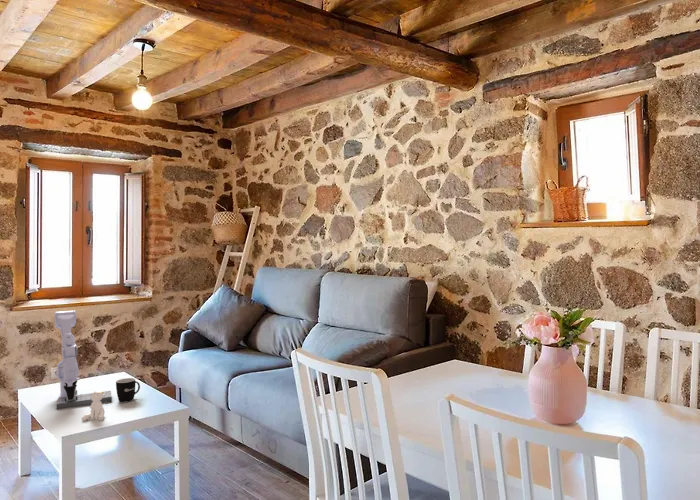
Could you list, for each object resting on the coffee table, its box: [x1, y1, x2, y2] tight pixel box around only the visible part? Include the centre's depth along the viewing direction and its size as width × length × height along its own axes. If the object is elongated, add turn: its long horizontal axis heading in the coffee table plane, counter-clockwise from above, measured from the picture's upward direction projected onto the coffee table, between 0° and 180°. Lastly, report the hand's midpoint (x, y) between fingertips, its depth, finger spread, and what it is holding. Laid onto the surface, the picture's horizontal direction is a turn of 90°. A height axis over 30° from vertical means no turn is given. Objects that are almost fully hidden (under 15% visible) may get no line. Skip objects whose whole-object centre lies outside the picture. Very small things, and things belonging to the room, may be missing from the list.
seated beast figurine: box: [81, 390, 105, 422], centre depth 238 cm, size 10×9×12 cm
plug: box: [66, 387, 78, 401], centre depth 260 cm, size 4×5×7 cm
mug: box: [115, 377, 141, 403], centre depth 265 cm, size 12×9×10 cm
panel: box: [56, 390, 113, 410], centre depth 262 cm, size 12×24×3 cm, turn 116°
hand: (71, 397), depth 260 cm, fingers open, 7 cm apart
